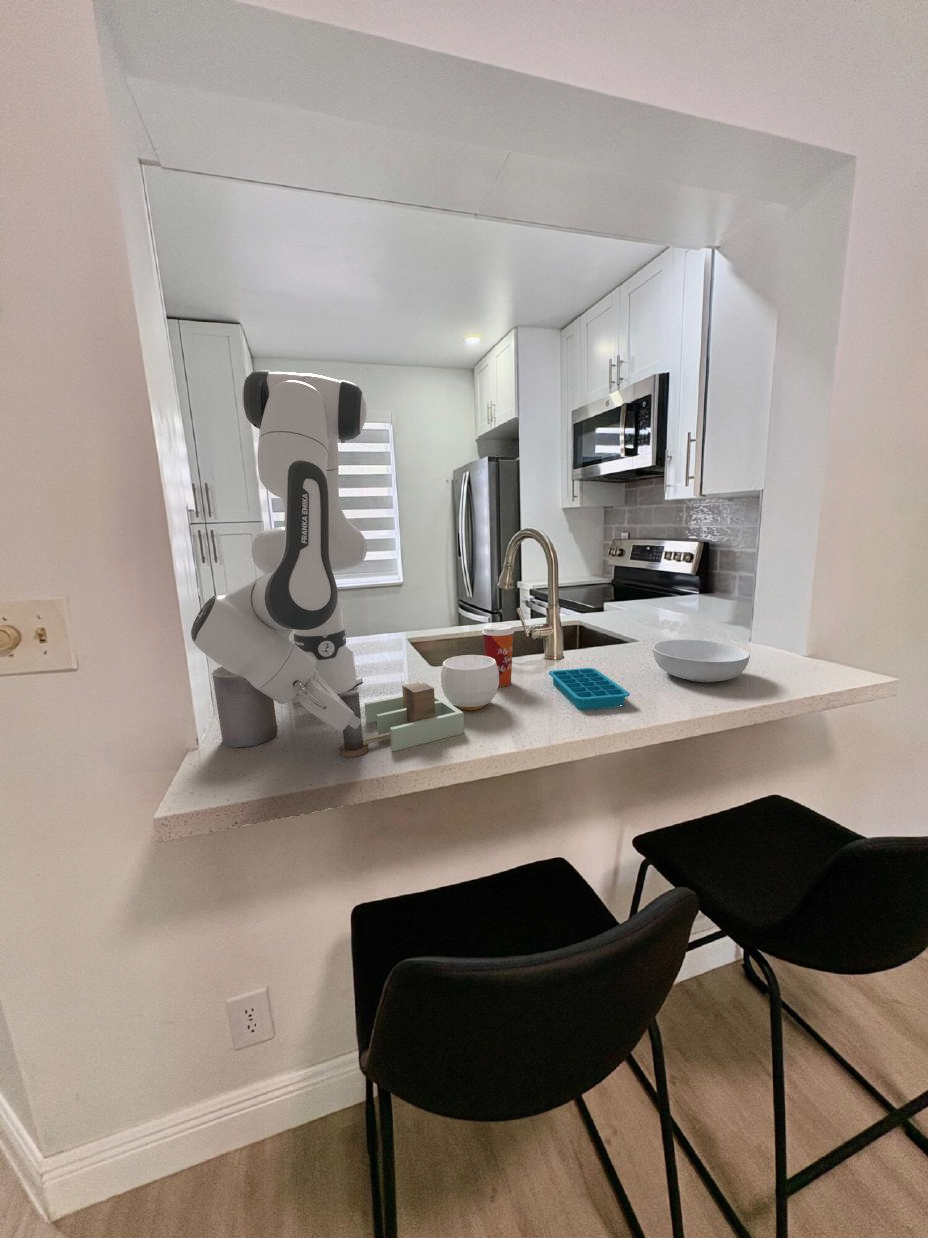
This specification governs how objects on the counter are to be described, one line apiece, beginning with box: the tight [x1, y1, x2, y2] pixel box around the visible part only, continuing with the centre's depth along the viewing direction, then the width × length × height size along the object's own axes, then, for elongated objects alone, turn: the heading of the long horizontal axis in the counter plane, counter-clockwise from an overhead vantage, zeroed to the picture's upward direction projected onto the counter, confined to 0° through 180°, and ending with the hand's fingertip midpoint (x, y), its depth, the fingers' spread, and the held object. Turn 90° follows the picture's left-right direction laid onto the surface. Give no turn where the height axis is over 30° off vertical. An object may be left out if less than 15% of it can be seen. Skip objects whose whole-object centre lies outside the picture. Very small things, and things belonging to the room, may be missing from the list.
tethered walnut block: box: [338, 682, 435, 758], centre depth 89 cm, size 5×18×10 cm, turn 119°
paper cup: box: [481, 623, 515, 688], centre depth 119 cm, size 8×8×14 cm
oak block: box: [401, 681, 420, 708], centre depth 99 cm, size 4×4×7 cm
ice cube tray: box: [548, 667, 630, 711], centre depth 111 cm, size 12×20×3 cm, turn 8°
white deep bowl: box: [440, 654, 499, 711], centre depth 105 cm, size 12×12×10 cm
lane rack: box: [364, 693, 465, 752], centre depth 95 cm, size 15×14×4 cm
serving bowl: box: [652, 639, 751, 683], centre depth 119 cm, size 21×21×7 cm
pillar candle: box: [211, 666, 278, 749], centre depth 93 cm, size 10×10×15 cm
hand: (354, 719), depth 86 cm, fingers closed on tethered walnut block, 3 cm apart
